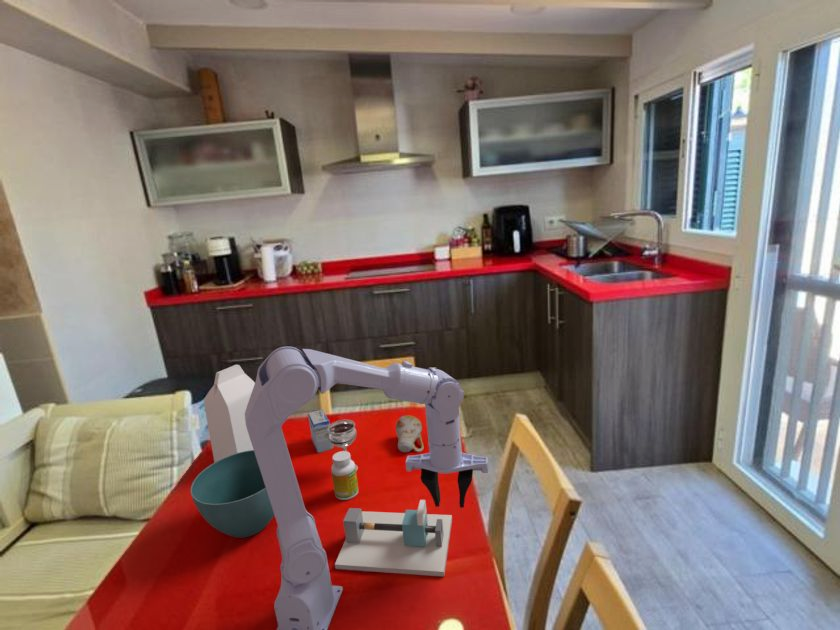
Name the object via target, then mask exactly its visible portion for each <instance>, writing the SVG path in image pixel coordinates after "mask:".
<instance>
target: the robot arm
mask: <svg viewBox="0 0 840 630" xmlns="http://www.w3.org/2000/svg"><path fill="white" fill-rule="evenodd" d="M254 382H255V385H254V388H253V390H252V393H251V396H250V399H249V402H248V405H247V408H246V411H245V421H246V428H247V431H248V434H249V437H250V440H251V443H252V446H253V449H254V452H255V456H256V459H257V462H258V465H259V468H260V471H261V474H262V477H263V481H264V484H265V487H266V490H267V493H268V496H269V499H270V502H271V506H272V509H273V512H274V518H275V521H276V524H277V528H276V537H277V540H278V544H279V549H280V553H281V563H280V565H279V566H280V574H281V577H280V578H281V581H280V586H279V587H280V588H279V590H278V594H277V596H276V598H275V600H274V603H273V606H274V607H273V608H274V612H275V617H276V622H277V628H276V630H328V628H329V626H330V624H331V622H332V618H333V616H334V614H335V611H336V609H337V608H336V607H337V606H338V603H339V600H340V598H341V595H342V593H343V591H344V589H343V586H340V585H332V580H331V574H330V568H329V563H328V561H329V560H328V556H327V551H326V550H325V549H324V547H323V544H322V541H321V539H320V536H319V532H318V529H317V527H316V526H317V525H316V520H315V518H314V516H313V515H312V514H311V513H309V512H308V510H307V509H306V507H305V503H304V500H303V496H302V492H301V489H300V485H299V482H298V479H297V476H296V472H295V469H294V466H293V462H292V459H291V455H290V452H289V449H288V445H287V442H286V439H285V435H284V431H283V427H282V426H283V425H284V424H285V422H286V421H287V419H288V418H289V417H291V416H292V415H293V414H295V413H296V412H298V410H300V409H301V408H303V407H304V406H305V405H307V404H308V403H309V402H310V401H311V400H312V399H313V398H314V397H315V395H316V394H317V392H318V391H319V393H320V395H323V394H325V393H326V392H328V391H329V390H331V388H332V387H333V386H335V385H336V384H342V385H351V386H355V387H357V386H358V387H364V388H373V389H380V390H382V391H383V394H384V395H385V397H386V398H388V399H393V400H398V401H404V402H409V403H414V404H415V403H416V404H420V405H421V404H422V405H424V409H425V419H426V420H425V421H426V430H427V431H426V432H427V438H428V439H427V441H428V451H429V452H426V453H422V454H416V455H407V456H406V459H405V469H406V472H412V471H413V470H420V471H421V472H420V474H421V475H420V480H421V483H422V484H423V485H424V486H425V487H426V489H427V490H428V492H429V494H430V496H431V498H432V500H433V503H434V506H435V508H438V507H440V503H441V490H440V484H439V474H453V473H458V474H457V485H458V491H459V493H458V494H459V508H461V509H463V508H465V499H466V495H467V491H468V489H469V487H470V486H471V483H472V481H473V476H474V474H473V472H474V471H478V472H479V471H481V473H482V474H488V472H489V460H488V457H487V456H479V455H474V454H469V453H465V452H463V450H462V439H461V438H462V436H461V423H460V406H461V404H462V403H463V400H464V397H465V391H464V390H463V389H462V386H461V384H460V382H458V380H456V379H455V378H453V377H452V376H450V375H449V374H448V373H446V372H445V371H443V370H441V369H438V368H437V367H428V368H427V369H426V368H422V367H417V366H413V364H412V363H411V362H410V361H407V360H402V362H401V363H399V362H393V363H390V364H389V365H388V366H386V367H381V366H378V365H373V364H369V363H366V362H362V361H358V360H354V359H349V358H347V357H346V358H345V357H343V356H339V355H334V354H331V353H326V352H322V351H319V350H315V349H311V348H302V351H301V350H300V349H298V348H297V347H294V346H288V345H287V346H286V345H285V346H280V347H278V348H276V349H274V350H272V352H270V354H268V356H267V357H266V358H265V360H264V361H262V363H261V364H260V365H259V366H258V369H257V373H256V378H255V381H254Z"/></svg>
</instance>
